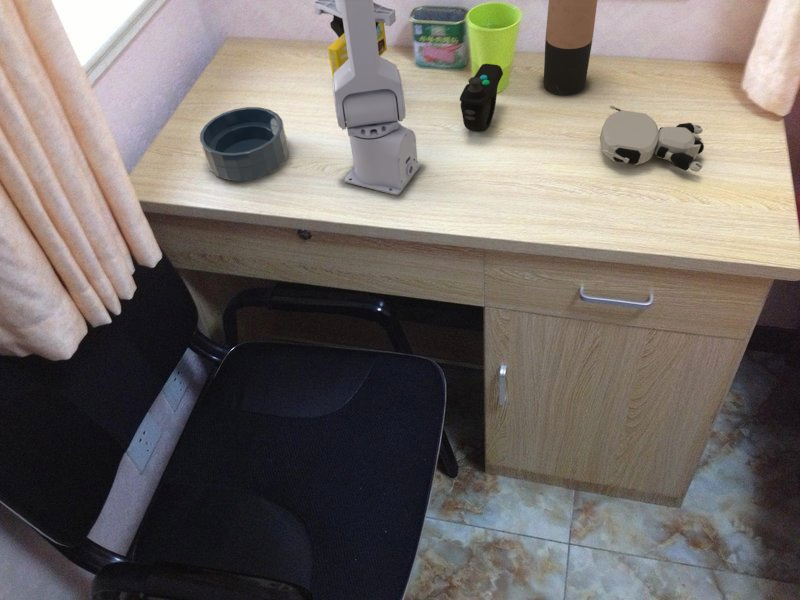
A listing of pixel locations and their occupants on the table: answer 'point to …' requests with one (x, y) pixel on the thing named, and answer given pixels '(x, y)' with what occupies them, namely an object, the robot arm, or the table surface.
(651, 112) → the table surface
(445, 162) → the table surface
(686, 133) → the robot toy
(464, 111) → the controller
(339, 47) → the candy box
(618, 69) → the table surface
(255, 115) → the bowl
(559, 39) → the travel mug
